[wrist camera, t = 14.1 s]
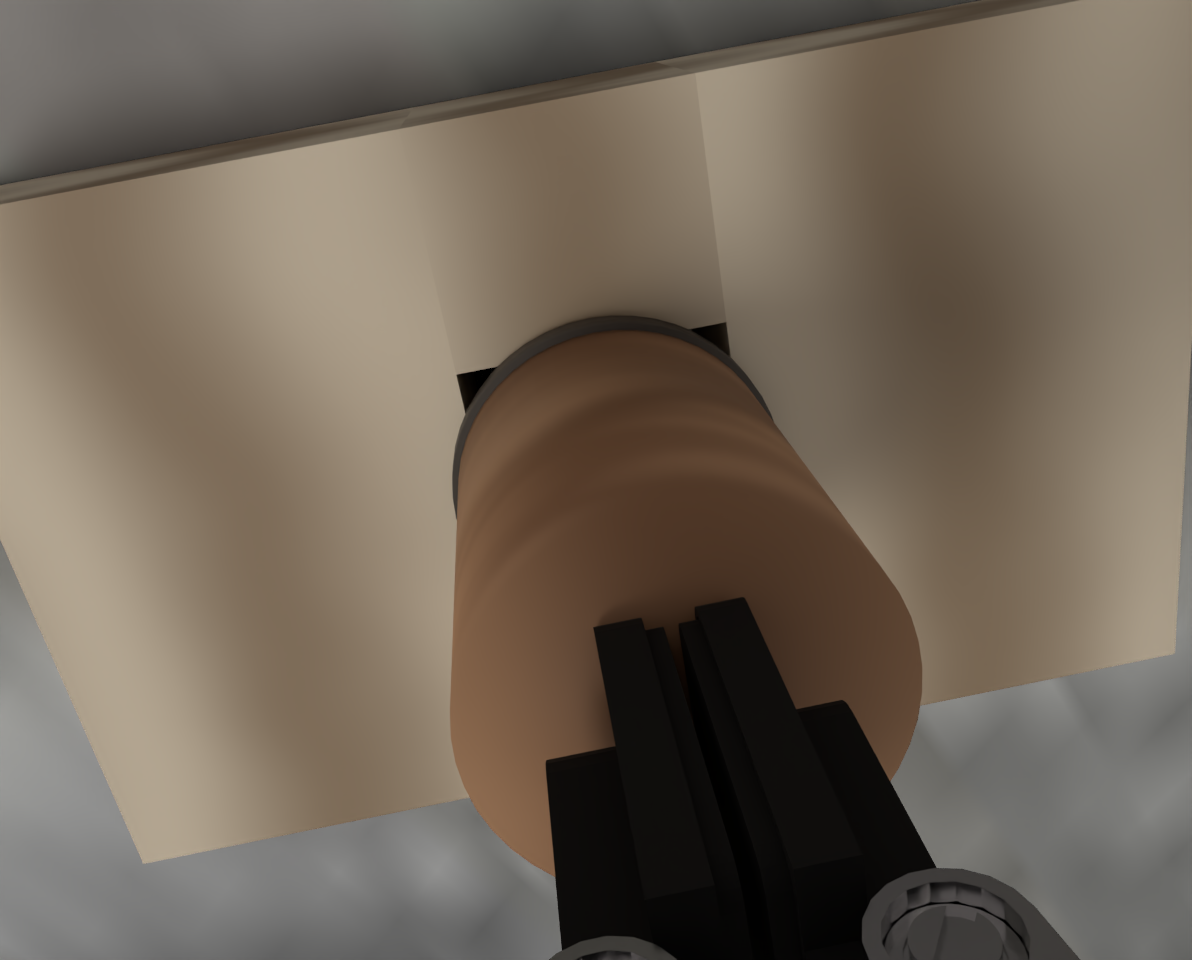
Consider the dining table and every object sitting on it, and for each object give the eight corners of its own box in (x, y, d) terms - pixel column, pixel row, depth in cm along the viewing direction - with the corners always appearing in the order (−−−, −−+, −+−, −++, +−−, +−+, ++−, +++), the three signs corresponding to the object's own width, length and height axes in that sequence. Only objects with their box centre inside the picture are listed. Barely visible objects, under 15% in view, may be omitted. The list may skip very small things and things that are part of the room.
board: (1076, -18, 20) (1211, -25, 16) (1071, 558, 25) (1174, 653, 21) (-21, 189, 19) (-136, 229, 16) (194, 734, 24) (143, 863, 21)
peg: (705, 237, 21) (919, 439, 11) (738, 490, 23) (941, 854, 13) (429, 291, 21) (385, 545, 11) (487, 540, 23) (497, 947, 13)
